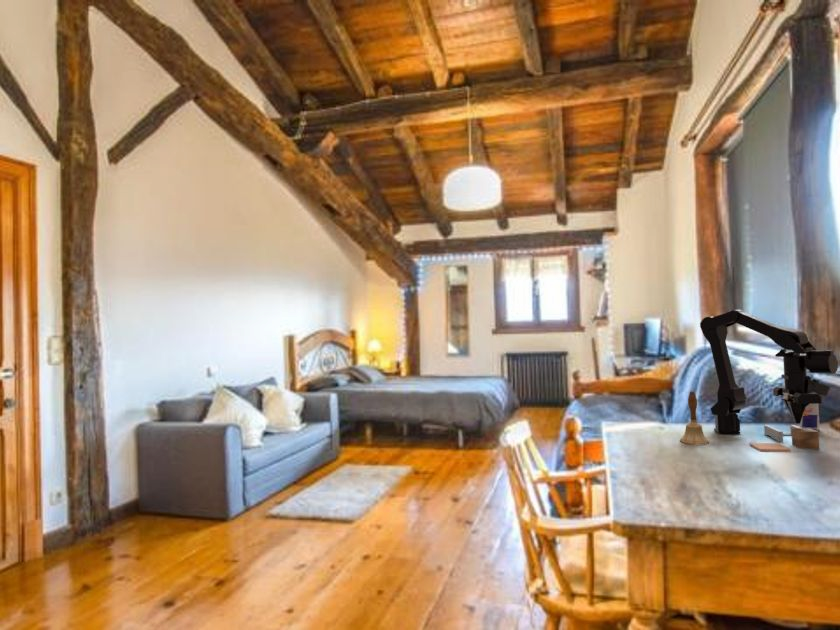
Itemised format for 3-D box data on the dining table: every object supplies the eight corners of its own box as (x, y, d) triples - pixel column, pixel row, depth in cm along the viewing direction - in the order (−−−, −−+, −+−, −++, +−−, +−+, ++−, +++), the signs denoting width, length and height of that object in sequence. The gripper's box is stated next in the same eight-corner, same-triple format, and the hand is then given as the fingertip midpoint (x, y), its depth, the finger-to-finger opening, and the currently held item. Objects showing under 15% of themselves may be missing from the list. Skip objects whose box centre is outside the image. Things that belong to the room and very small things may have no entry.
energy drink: (796, 429, 185) (794, 394, 185) (806, 427, 187) (804, 392, 187) (813, 432, 180) (811, 395, 180) (823, 430, 182) (821, 394, 182)
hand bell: (714, 444, 168) (711, 392, 169) (687, 445, 169) (684, 393, 169) (701, 438, 177) (698, 389, 177) (675, 439, 177) (673, 390, 177)
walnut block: (799, 448, 159) (799, 431, 159) (792, 444, 164) (791, 428, 164) (819, 449, 158) (818, 431, 158) (811, 445, 163) (810, 428, 163)
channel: (778, 441, 169) (778, 431, 169) (764, 434, 180) (764, 424, 180) (811, 441, 167) (810, 431, 167) (794, 434, 178) (794, 424, 178)
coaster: (760, 451, 158) (759, 449, 158) (749, 444, 166) (749, 443, 166) (791, 451, 156) (790, 449, 156) (779, 445, 164) (778, 443, 164)
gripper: (841, 374, 155) (844, 429, 155) (810, 368, 173) (812, 417, 173) (797, 375, 158) (800, 429, 157) (771, 369, 176) (773, 417, 176)
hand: (797, 423), depth 166 cm, fingers closed
